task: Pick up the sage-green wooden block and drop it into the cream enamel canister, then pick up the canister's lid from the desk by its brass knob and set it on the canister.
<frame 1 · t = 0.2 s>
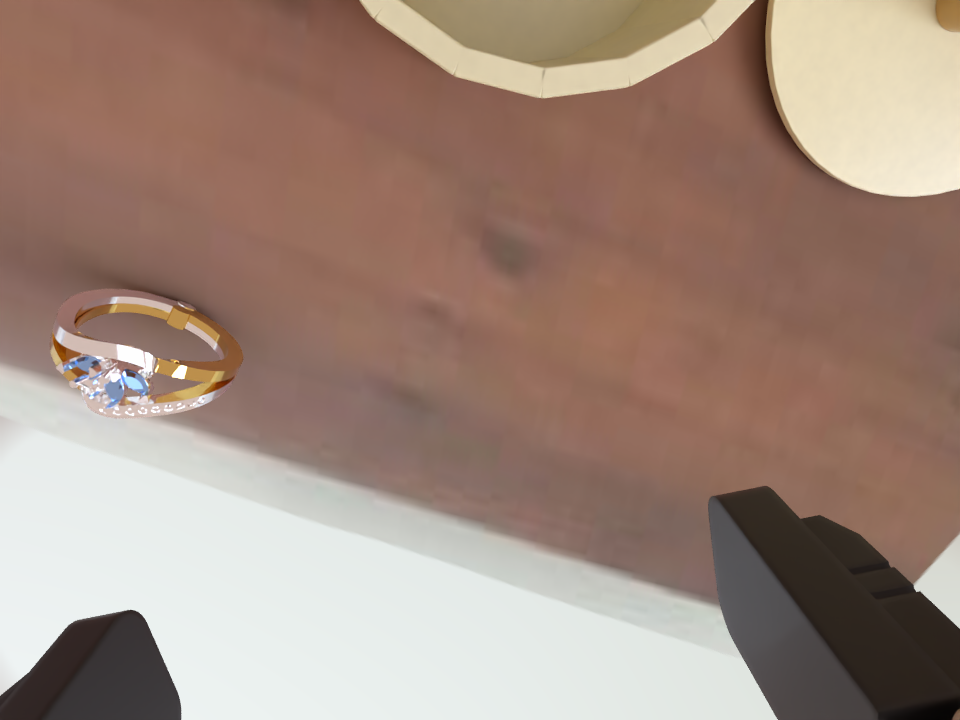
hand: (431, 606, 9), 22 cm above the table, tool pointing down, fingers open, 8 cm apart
ring: (186, 309, 30), on the table
canister lid: (954, 0, 26), point 1 cm above the table
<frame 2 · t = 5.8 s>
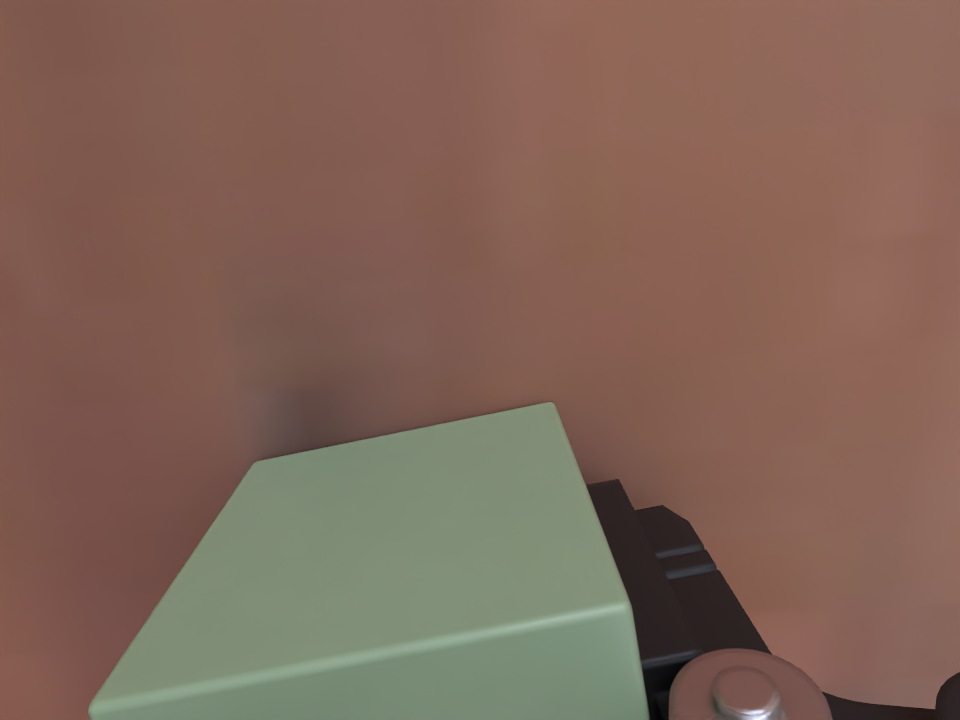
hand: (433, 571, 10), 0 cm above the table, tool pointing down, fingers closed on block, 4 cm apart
block: (436, 559, 10), on the table, touching gripper
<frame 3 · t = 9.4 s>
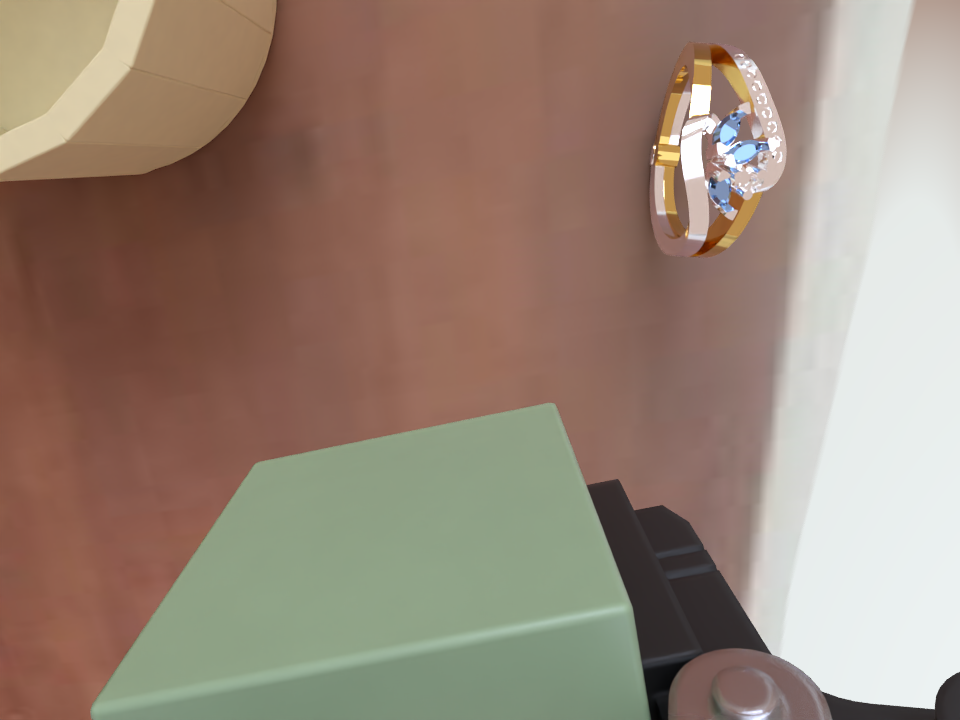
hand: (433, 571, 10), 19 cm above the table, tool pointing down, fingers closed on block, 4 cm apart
block: (437, 560, 10), point 18 cm above the table, touching gripper
ring: (658, 155, 26), on the table
when the fingers open (7 cm above the table, at t = 13.1 s): block drops 6 cm, resting on canister.
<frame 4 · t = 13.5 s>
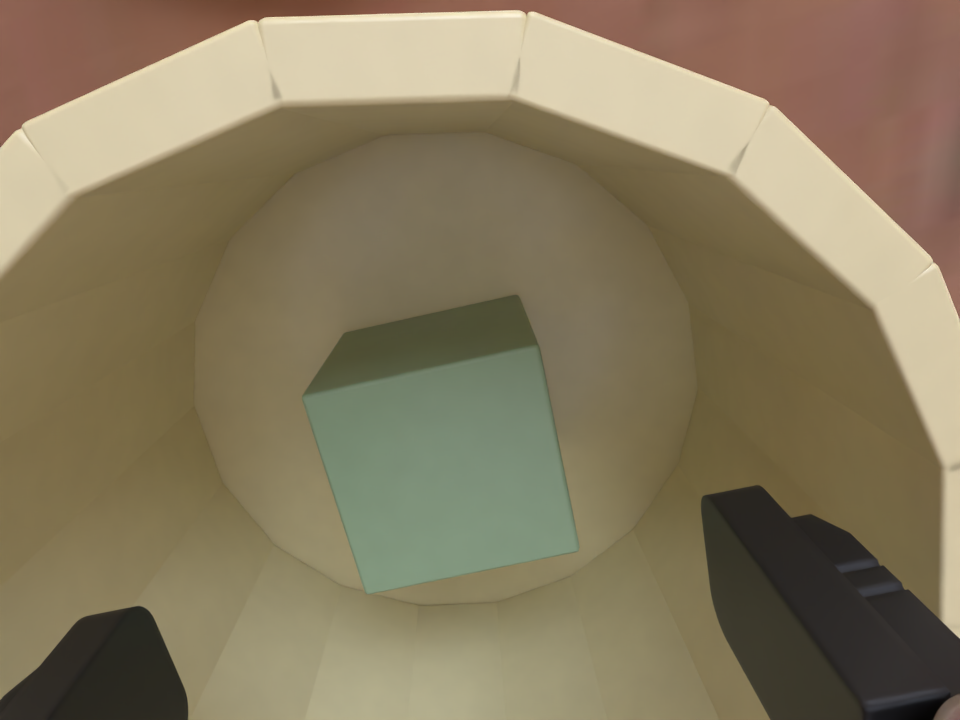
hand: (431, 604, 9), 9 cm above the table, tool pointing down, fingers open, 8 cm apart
block: (450, 395, 17), point 1 cm above the table, touching canister
canister: (448, 388, 17), on the table
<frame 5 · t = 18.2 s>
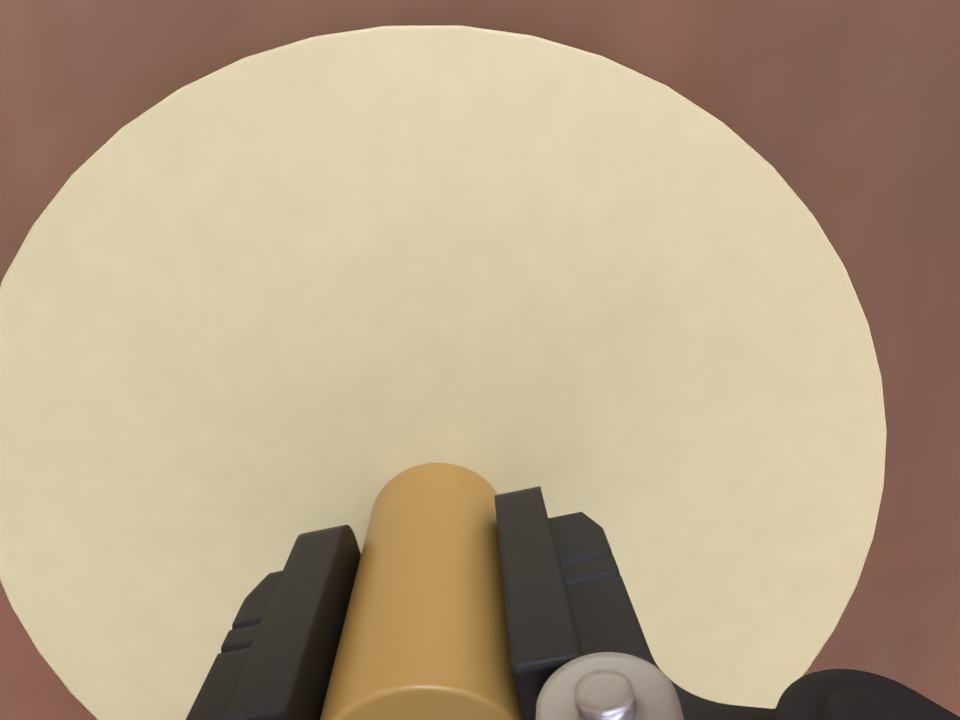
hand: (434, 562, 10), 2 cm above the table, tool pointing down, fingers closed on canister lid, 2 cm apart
canister lid: (439, 506, 12), point 1 cm above the table, touching gripper
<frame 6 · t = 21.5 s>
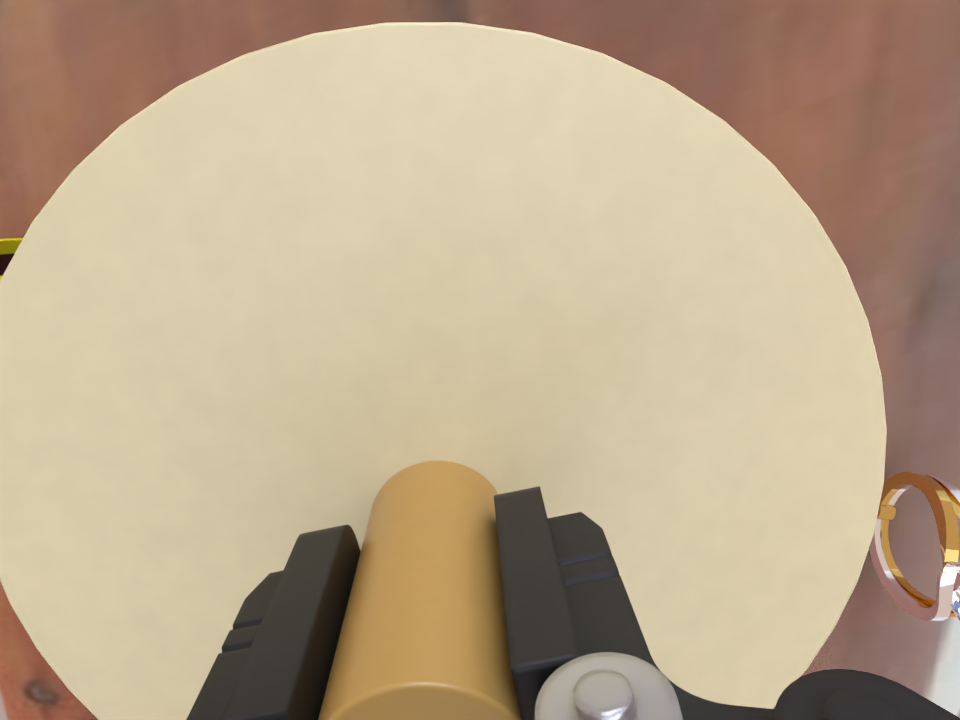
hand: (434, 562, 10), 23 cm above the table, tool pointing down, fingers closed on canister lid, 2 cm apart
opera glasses: (125, 282, 31), on the table
ring: (873, 502, 36), on the table
canister lid: (439, 504, 12), point 21 cm above the table, touching gripper
when the fingers open (11 cm above the table, at t = 25.0 s): canister lid stays where it is, resting on canister.
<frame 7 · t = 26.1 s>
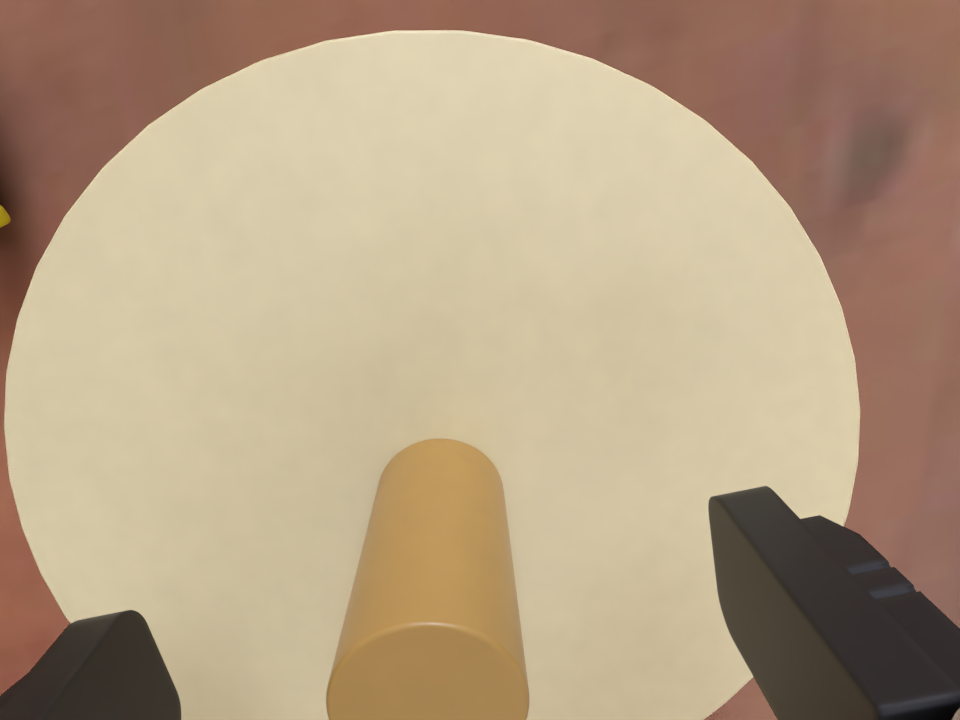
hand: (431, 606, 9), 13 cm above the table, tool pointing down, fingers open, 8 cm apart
canister lid: (441, 480, 12), point 9 cm above the table, touching canister
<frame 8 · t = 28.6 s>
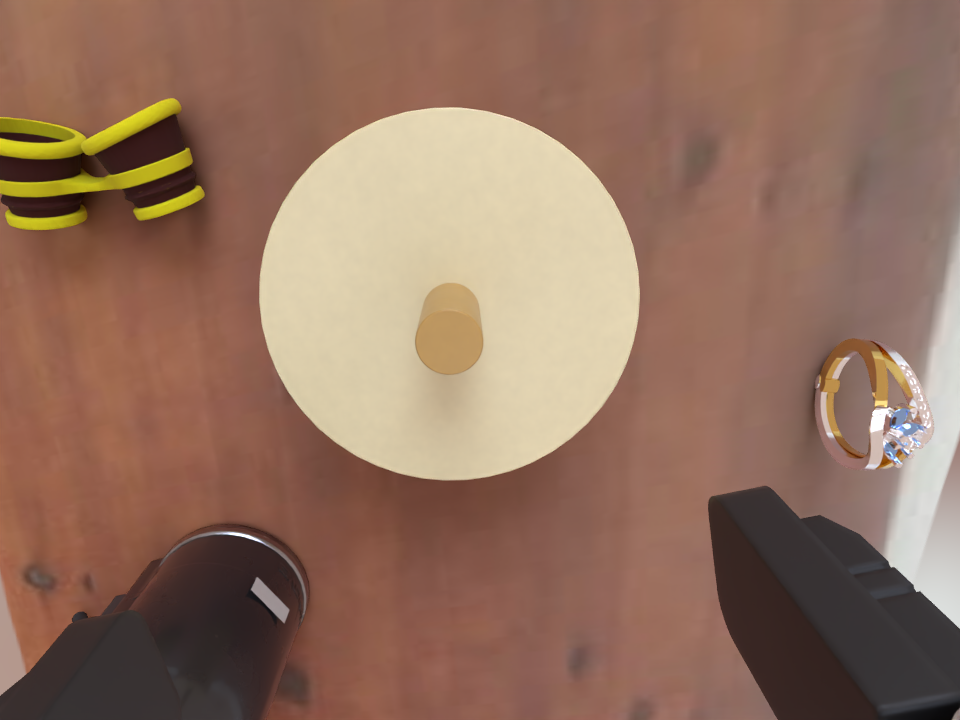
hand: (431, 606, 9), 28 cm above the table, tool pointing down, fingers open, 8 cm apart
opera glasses: (117, 166, 34), on the table
ring: (820, 379, 39), on the table
canister lid: (451, 307, 27), point 9 cm above the table, touching canister
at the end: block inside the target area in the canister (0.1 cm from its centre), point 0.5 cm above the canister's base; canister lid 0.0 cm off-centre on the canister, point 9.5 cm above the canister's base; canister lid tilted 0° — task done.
